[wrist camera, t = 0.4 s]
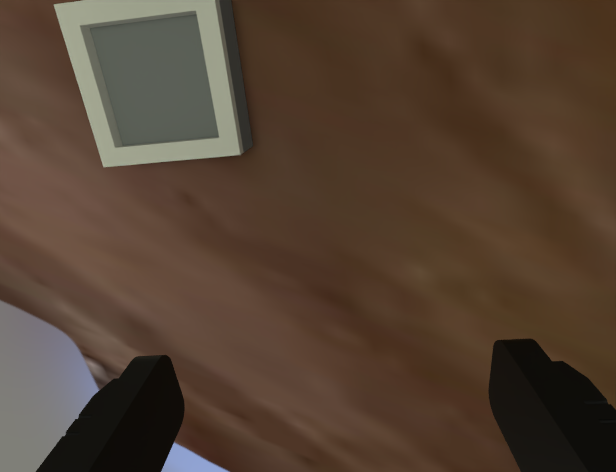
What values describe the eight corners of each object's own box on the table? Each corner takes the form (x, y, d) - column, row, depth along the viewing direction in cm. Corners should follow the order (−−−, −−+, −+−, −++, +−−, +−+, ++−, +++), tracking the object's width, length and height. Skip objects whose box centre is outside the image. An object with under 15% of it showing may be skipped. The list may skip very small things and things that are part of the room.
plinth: (96, 17, 31) (53, 4, 26) (231, 0, 30) (211, -17, 25) (134, 156, 36) (103, 167, 31) (253, 145, 34) (240, 154, 30)
